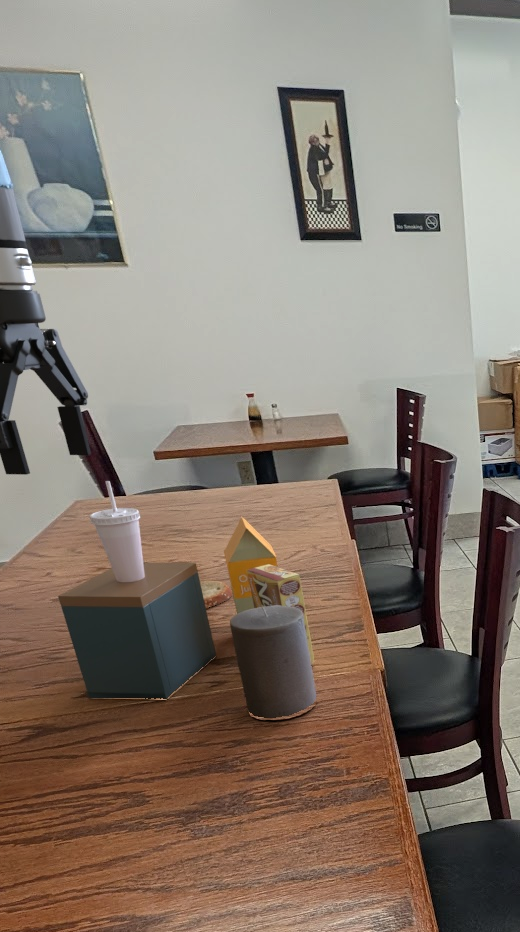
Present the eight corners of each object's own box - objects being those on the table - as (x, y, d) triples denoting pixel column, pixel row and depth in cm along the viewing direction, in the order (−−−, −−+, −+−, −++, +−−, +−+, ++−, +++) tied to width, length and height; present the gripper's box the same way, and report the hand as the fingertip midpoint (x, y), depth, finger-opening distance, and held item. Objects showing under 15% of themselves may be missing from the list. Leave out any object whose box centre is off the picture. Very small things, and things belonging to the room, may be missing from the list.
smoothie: (159, 570, 124) (137, 476, 118) (148, 583, 118) (123, 485, 112) (114, 573, 123) (89, 478, 117) (100, 586, 117) (73, 488, 111)
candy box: (316, 666, 130) (301, 573, 124) (293, 674, 127) (276, 580, 121) (285, 652, 135) (269, 562, 129) (262, 660, 133) (245, 569, 126)
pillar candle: (241, 725, 113) (219, 623, 106) (254, 694, 121) (234, 598, 115) (314, 718, 114) (297, 617, 107) (321, 689, 123) (306, 593, 116)
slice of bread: (240, 592, 164) (237, 574, 162) (188, 624, 148) (184, 605, 146) (159, 589, 167) (155, 571, 165) (100, 620, 151) (94, 601, 149)
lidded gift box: (89, 699, 121) (57, 596, 114) (146, 656, 135) (122, 562, 128) (166, 700, 120) (140, 596, 113) (216, 657, 134) (195, 562, 127)
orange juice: (243, 647, 138) (219, 530, 129) (239, 630, 145) (216, 518, 136) (291, 639, 141) (271, 524, 132) (284, 623, 148) (265, 512, 139)
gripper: (-41, 288, 90) (17, 483, 99) (90, 288, 112) (127, 448, 122) (-106, 288, 90) (-42, 482, 100) (37, 288, 113) (78, 447, 122)
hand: (51, 464), depth 111 cm, fingers open, 13 cm apart
